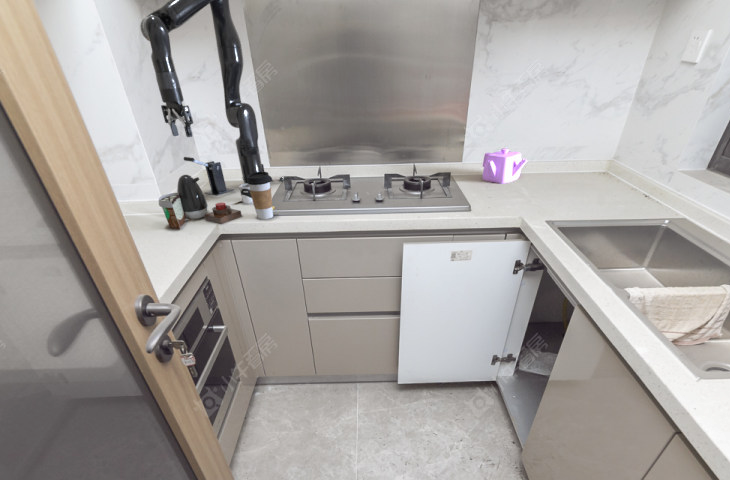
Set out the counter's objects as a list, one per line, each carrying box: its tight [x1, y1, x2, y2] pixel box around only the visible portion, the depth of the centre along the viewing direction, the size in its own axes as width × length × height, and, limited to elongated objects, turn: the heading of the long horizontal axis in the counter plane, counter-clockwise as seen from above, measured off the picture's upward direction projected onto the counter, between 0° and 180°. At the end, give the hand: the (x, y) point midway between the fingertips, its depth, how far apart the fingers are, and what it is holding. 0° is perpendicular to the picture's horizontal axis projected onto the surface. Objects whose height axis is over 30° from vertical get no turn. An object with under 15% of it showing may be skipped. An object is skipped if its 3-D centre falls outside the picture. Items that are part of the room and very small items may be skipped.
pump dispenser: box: [176, 174, 209, 220], centre depth 158 cm, size 10×10×15 cm
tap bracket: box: [204, 160, 235, 197], centre depth 184 cm, size 10×8×13 cm
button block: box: [204, 204, 243, 225], centre depth 159 cm, size 10×9×4 cm
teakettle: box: [482, 148, 528, 185], centre depth 187 cm, size 17×17×12 cm
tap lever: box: [183, 156, 212, 170], centre depth 177 cm, size 14×5×2 cm, turn 146°
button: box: [214, 202, 227, 209], centre depth 157 cm, size 4×4×2 cm
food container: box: [158, 192, 188, 230], centre depth 153 cm, size 12×6×10 cm, turn 4°
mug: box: [238, 183, 254, 206], centre depth 174 cm, size 10×7×7 cm, turn 87°
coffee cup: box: [247, 171, 274, 220], centre depth 155 cm, size 8×8×15 cm
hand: (182, 136), depth 166 cm, fingers open, 8 cm apart
